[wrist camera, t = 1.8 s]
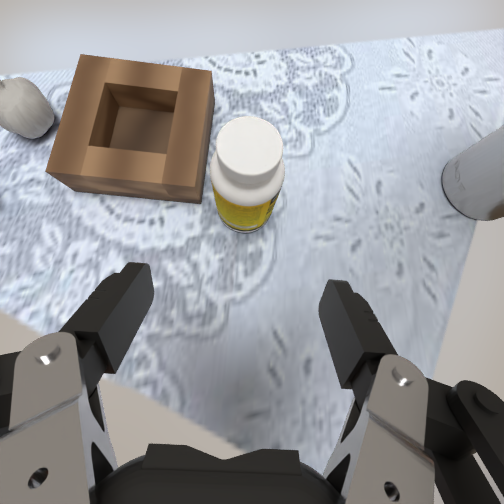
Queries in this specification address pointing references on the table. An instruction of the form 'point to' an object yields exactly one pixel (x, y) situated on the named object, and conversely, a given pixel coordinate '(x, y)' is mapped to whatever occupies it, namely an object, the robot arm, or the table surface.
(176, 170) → the wooden square tray
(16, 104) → the garlic
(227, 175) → the pill bottle
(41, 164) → the table surface
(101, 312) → the robot arm
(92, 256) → the table surface
